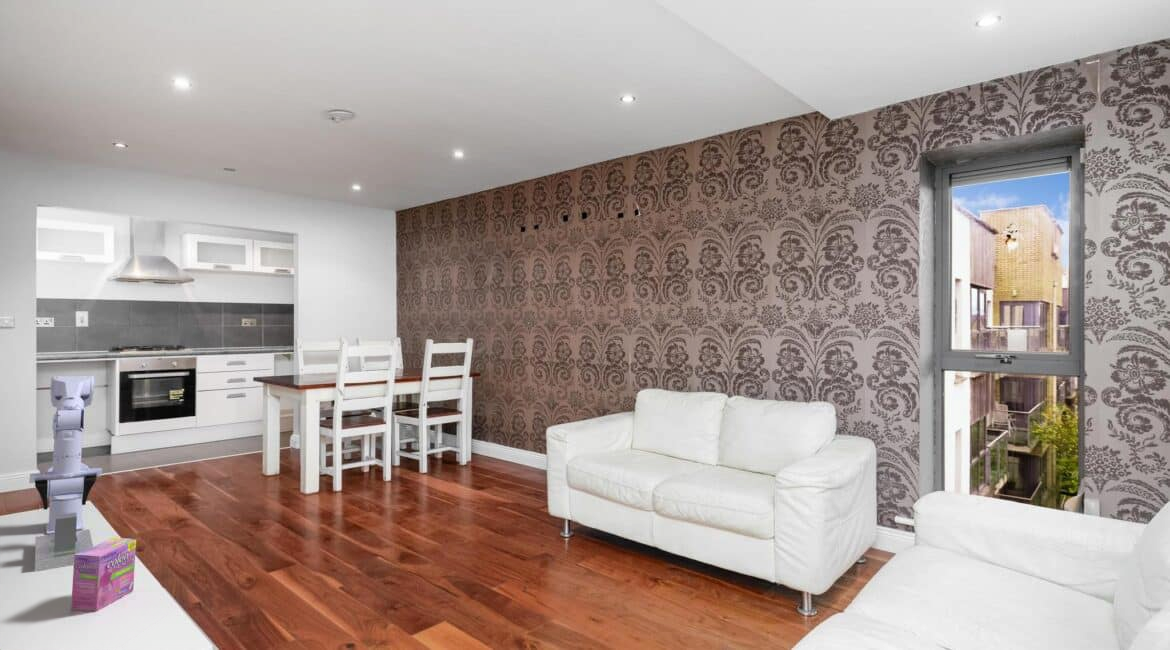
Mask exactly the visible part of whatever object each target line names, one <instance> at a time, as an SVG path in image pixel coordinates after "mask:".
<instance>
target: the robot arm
mask: <svg viewBox="0 0 1170 650" xmlns="http://www.w3.org/2000/svg"><path fill="white" fill-rule="evenodd" d="M94 391H95V376H93V375H53V376H52V377H51V380H50V403H51V404H52V405H51V406H52V407H53V408H56V410H55V411H54V412H53V416H52V417H53V418H52V433H53V439H54V441H53V455H52V456H53V457H52V466H51V467H48V469H47V471H44V472H38V473H29V482H28V483H29V484H34V486H35V488H36V490H37V492H38V493H39V495H40V498H41V501H42V505H43V511H44V510H46V511H47V510H48V508H49V510H48V511H49V512H48V523H46V524H45V527H46V529H45V531H46V534H47V535H52V534H55V516H56V515H61V514H68V513H76V514H77V524H76V531H80V530H85V529H84V528H85V526H84V521H83V518H82V517H83V506H86V503H87V499H88V496H89V494H90V493H91V492H90V491H91V490H92V488H93V487H94V484H95V483H96V481H97V477H102V471H103V469H102V467H93V468H89V466H88V465H87V464H84V463H83V462H82V451H83V450H82V449H83V447H82V446H83V434H84V433H83V432H84V430H85V427H86V410H85V408H87V407H89V406H91V405H92V402H93V399H94V397H93V396H94ZM48 499H49V500H48ZM48 501H49V507H48Z"/></svg>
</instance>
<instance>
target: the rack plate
mask: <svg viewBox="0 0 1170 650" xmlns="http://www.w3.org/2000/svg"><path fill="white" fill-rule="evenodd" d="M54 536H55V533H52V534H47V535H39V536H35V538H34V539H35V543H34V572H39V571H44V570H50V569H56V568H57V569H58V568H61V567H62V566H63V567H68V566H67V565H69V566H74V565H73V564H74V555H75V554H78V553H80V552H82V551H84V550H87V549H89V548H91V547H93V546H94V544H93V540H92V539H93V538H92V534H91V531H90V528H89V529H88V528H87V529H80V530H76V544H75V548H74V549H68V550H62V551H55V552H54Z"/></svg>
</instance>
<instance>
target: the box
mask: <svg viewBox="0 0 1170 650" xmlns="http://www.w3.org/2000/svg"><path fill="white" fill-rule="evenodd" d="M136 547H137V539H135V538H127V537H126V538H125V537H124V538H123V537H111V538H110V539H107V540H104V541H102V542H100V543H98V544H96V545H93V547H91V548H89V549H87V550H84V551H82V552H80V553H78V554H75V555H74V565H73V573H72V587H71V588H72V590H71V604H70V605H71V606H70V611H80V612H81V611H82V612H98V611H100V610H102V609H103V608H105V607H107V606H109V605H110V604H112V603H114V602H116V601H117V600H119V599H120V598H123V597H124V596H127V595H128V594H129V593H131V592H133V591H134V586H135V584H134V583H135V582H134V581H135V563H136V562H135V561H136V550H137V548H136Z"/></svg>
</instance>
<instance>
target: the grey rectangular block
mask: <svg viewBox="0 0 1170 650" xmlns="http://www.w3.org/2000/svg"><path fill="white" fill-rule="evenodd" d="M76 524H77V514H76V513H68V514H61V515H56V516H55V533H54V534H55V536H54V552H55V551H62V550H68V549H74V548H75V544H76V531H77V530H76Z"/></svg>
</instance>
